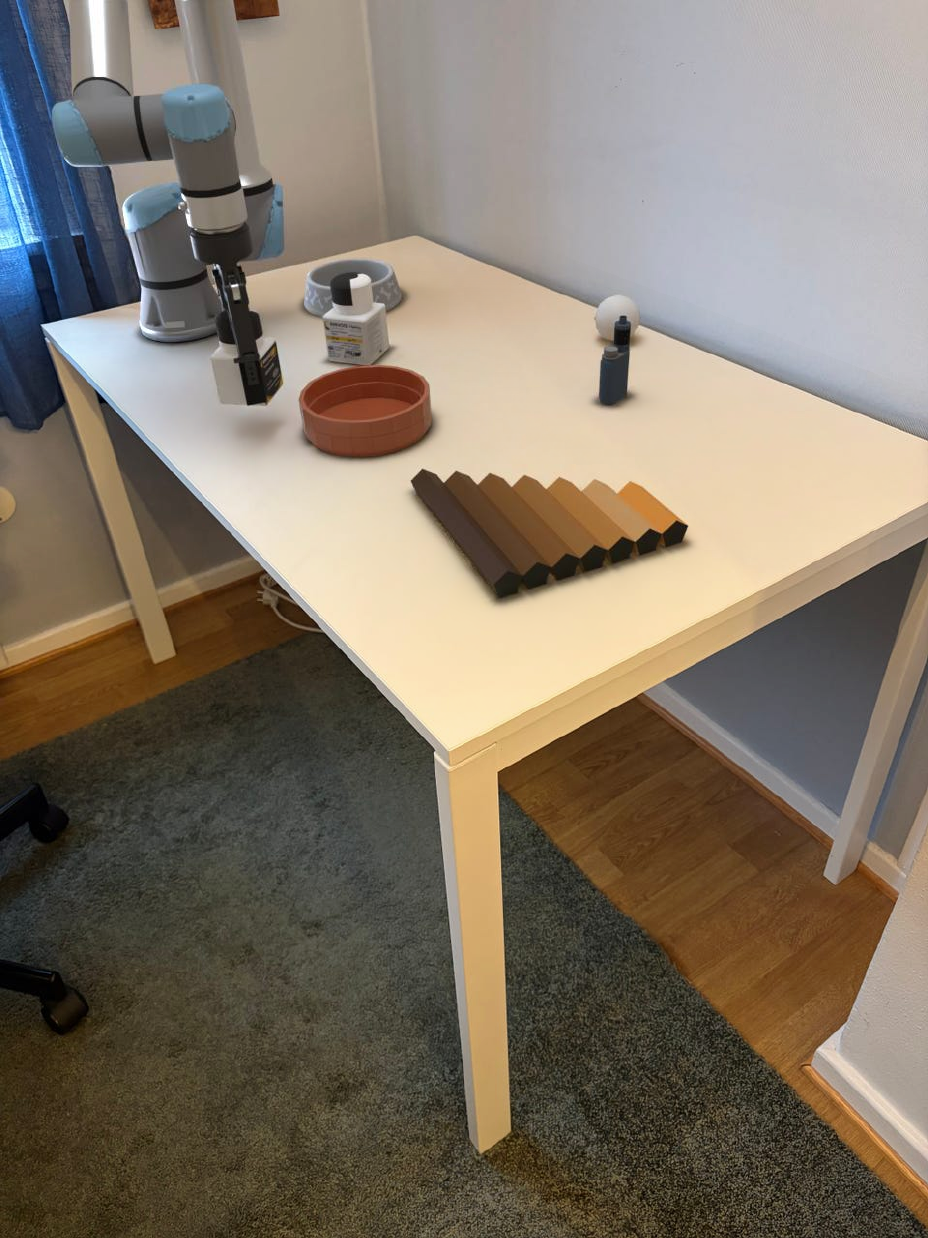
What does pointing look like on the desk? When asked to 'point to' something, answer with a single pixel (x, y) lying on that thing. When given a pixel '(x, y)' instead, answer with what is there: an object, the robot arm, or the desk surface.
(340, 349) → the container
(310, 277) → the dog bowl
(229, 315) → the robot arm
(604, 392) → the vaping device
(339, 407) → the bowl
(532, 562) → the pan flute
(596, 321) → the white egg
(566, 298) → the desk surface
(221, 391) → the medicine bottle
